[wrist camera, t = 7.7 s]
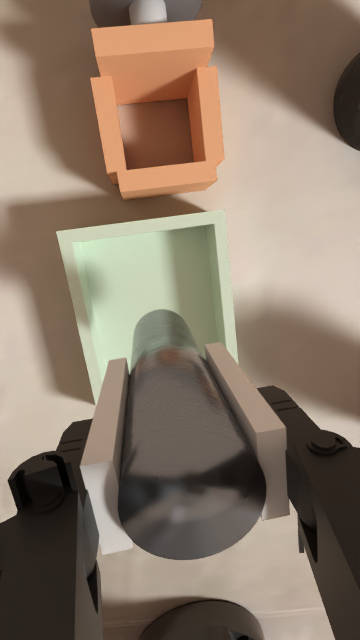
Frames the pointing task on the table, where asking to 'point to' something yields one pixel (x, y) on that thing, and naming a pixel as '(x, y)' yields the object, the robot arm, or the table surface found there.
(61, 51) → the table surface
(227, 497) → the pin
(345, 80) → the travel mug
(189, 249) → the tray
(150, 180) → the block
